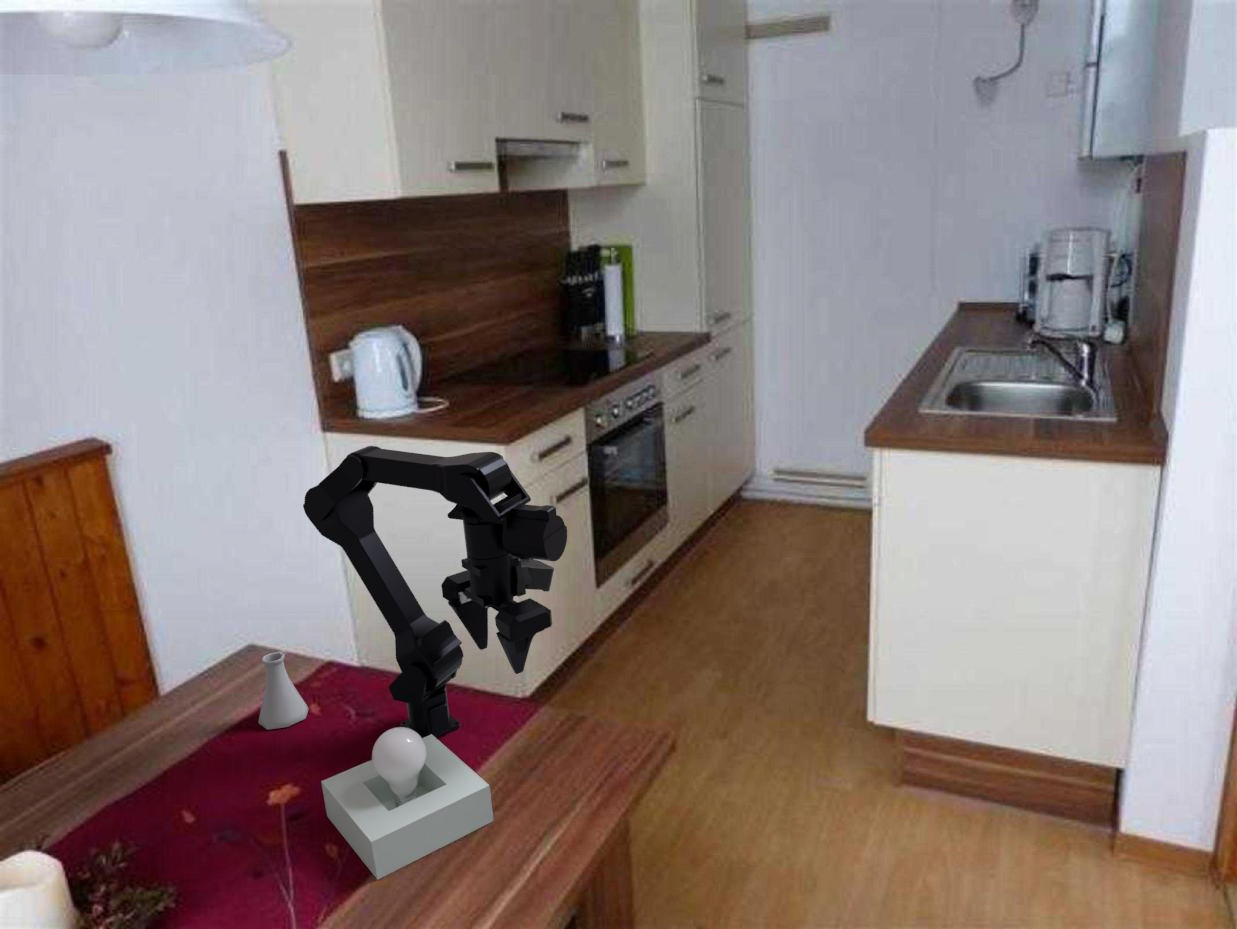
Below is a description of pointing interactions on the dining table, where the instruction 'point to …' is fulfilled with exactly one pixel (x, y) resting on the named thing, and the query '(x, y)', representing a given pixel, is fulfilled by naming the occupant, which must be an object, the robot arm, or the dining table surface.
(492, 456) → the robot arm
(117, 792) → the dining table surface
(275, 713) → the flask
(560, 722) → the dining table surface
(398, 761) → the lightbulb
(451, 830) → the socket block
